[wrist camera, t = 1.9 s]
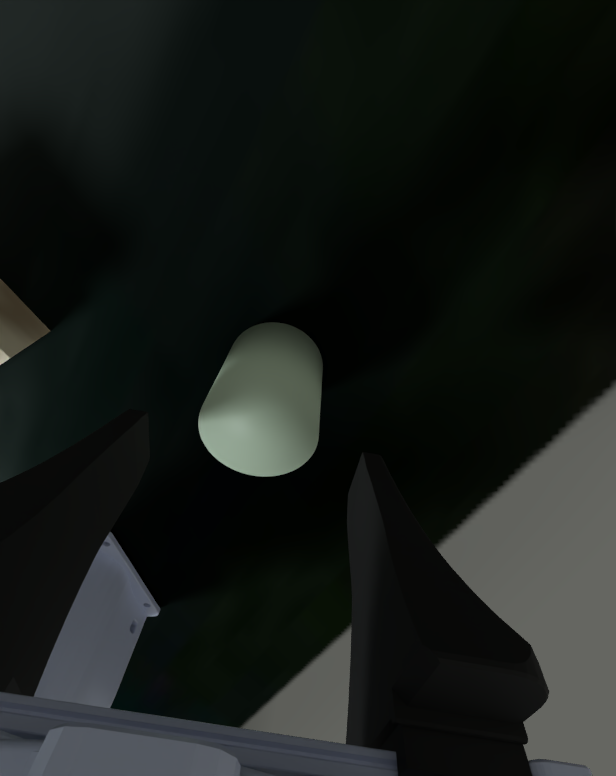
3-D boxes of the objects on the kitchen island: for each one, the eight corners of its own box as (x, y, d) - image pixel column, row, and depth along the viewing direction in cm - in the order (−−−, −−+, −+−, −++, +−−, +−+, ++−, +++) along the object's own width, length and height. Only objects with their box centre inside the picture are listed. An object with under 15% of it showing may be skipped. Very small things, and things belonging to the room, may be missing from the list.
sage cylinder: (328, 399, 20) (326, 471, 15) (242, 408, 20) (217, 480, 16) (314, 315, 17) (307, 373, 13) (218, 329, 18) (181, 388, 14)
